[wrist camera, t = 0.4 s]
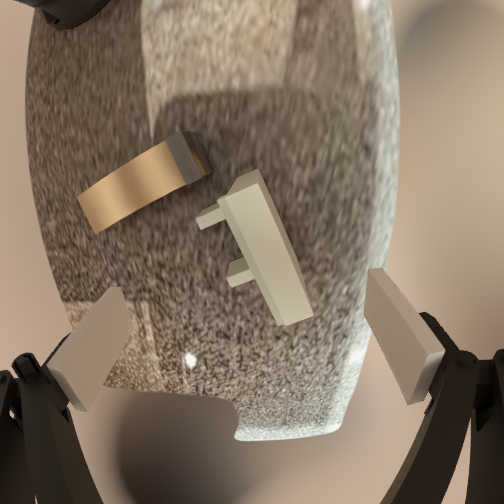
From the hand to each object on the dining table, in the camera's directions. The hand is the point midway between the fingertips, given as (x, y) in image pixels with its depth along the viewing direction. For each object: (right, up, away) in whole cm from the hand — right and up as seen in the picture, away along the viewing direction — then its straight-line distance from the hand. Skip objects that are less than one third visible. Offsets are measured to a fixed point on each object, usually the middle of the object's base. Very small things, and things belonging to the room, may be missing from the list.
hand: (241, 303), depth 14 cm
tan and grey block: (-13, +13, +22) cm, 29 cm away
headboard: (0, +6, +25) cm, 26 cm away
